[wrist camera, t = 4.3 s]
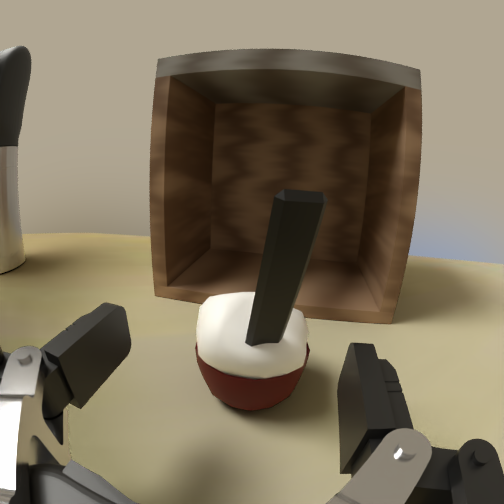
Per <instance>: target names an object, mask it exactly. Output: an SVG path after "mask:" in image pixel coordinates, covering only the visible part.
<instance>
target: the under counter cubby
mask: <svg viewBox="0 0 504 504" xmlns="http://www.w3.org/2000/svg"><path fill="white" fill-rule="evenodd" d="M421 144H422V95H421V76H420V70H419V69H415V68H412V67H408V66H404V65H400V64H396V63H392V62H387V61H382V60H377V59H372V58H367V57H361V56H354V55H348V54H341V53H333V52H322V51H312V50H296V49H239V50H222V51H211V52H201V53H193V54H185V55H179V56H172V57H167V58H162V59H158V63H157V71H156V79H155V89H154V99H153V112H152V126H151V146H150V231H151V252H152V267H153V280H154V291H155V296H160V297H166V298H171V299H177V300H183V301H189V302H195V303H201V304H203V303H204V302H205V301H206V300H207V299H208V298H209V297H210V296H216V295H221V294H229V293H238V292H255V291H256V286H257V281H258V276H259V271H260V266H261V261H262V256H263V251H264V246H265V241H266V236H267V230H268V225H269V220H270V215H271V210H272V205H273V199H274V196H275V195H277V194H278V193H279V192H281V191H282V190H283V189H291V190H304V191H316V192H323V193H324V195H325V196H326V198H327V199H328V202H327V205H326V209H325V212H324V215H323V219H322V222H321V225H320V229H319V232H318V235H317V238H316V242H315V245H314V248H313V251H312V254H311V257H310V260H309V264H308V267H307V270H306V273H305V276H304V279H303V282H302V285H301V288H300V290H299V293H298V296H297V299H296V302H295V305H294V308H295V309H297V310H299V311H301V312H302V313H303V315H304V317H307V318H317V319H328V320H340V321H352V322H366V323H382V324H391V322H392V319H393V315H394V312H395V308H396V305H397V301H398V297H399V293H400V289H401V285H402V281H403V277H404V272H405V268H406V263H407V258H408V253H409V248H410V243H411V237H412V231H413V225H414V219H415V212H416V204H417V196H418V186H419V176H420V163H421Z"/></svg>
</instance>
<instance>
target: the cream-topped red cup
mask: <svg viewBox="0 0 504 504" xmlns="http://www.w3.org/2000/svg"><path fill="white" fill-rule="evenodd" d="M327 202H328V199H327V198H326V196H325V195H324V193H323V192H316V191H304V190H291V189H283V190H282V191H281V192H279V193H278V194H277V195H275V196H274V199H273V205H272V210H271V215H270V220H269V225H268V230H267V236H266V241H265V246H264V251H263V256H262V261H261V266H260V271H259V276H258V281H257V286H256V291H255V292H238V293H229V294H221V295H216V296H210V297H209V298H208V299H207V300H206V301H205V302H204V303H203V304H202V305H201V306H200V308H199V315H198V321H197V328H196V336H197V343H196V347H195V349H196V357H197V363H198V365H199V368H200V371H201V373H202V375H203V377H204V380H205V382H206V383H207V385H208V387H209V389H210V391H211V393H212V395H214V396H215V397H217V398H218V399H220V400H222V401H223V402H225V403H226V404H228V405H229V406H231V407H234V408H239V409H244V410H250V411H252V410H259V409H265V408H270V407H272V406H274V405H276V404H278V403H279V402H281V401H282V400H284V399H286V398H287V397H289V396H290V394H291V393H292V391H293V390H294V388H295V386H296V384H297V383H298V381H299V379H300V377H301V374H302V372H303V370H304V368H305V366H306V363H307V360H308V356H309V352H310V349H309V346H308V343H307V339H308V335H309V331H308V327H307V323H306V320H305V317H304V315H303V313H302V312H301V311H299V310H297V309H295V308H294V305H295V302H296V299H297V296H298V293H299V290H300V288H301V285H302V282H303V279H304V276H305V273H306V270H307V267H308V264H309V260H310V257H311V254H312V251H313V248H314V245H315V242H316V238H317V235H318V232H319V229H320V225H321V222H322V219H323V215H324V212H325V209H326V205H327Z"/></svg>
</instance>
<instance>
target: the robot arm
mask: <svg viewBox="0 0 504 504" xmlns="http://www.w3.org/2000/svg"><path fill="white" fill-rule="evenodd" d="M30 74H31V56H30V53H29V51H28V49H27V48H26V47H24V46H16V47H12V48H9V49H6V50H3V51H0V273H3V272H6V271H9V270H12V269H14V268H16V267H18V266H19V265H21V264H22V263H23V262H24V261H25V252H24V246H23V239H22V231H21V222H20V212H19V199H18V170H17V162H18V138H19V134H20V130H21V126H22V118H23V111H24V105H25V100H26V94H27V90H28V85H29V80H30ZM130 349H131V338H130V333H129V327H128V322H127V316H126V311H125V309H124V308H123V307H122V306H118V305H114V304H110V303H103V304H101V305H100V306H99V307H97V308H96V309H95V310H94V311H92V312H91V313H89V314H86V315H84V316H82V317H80V318H79V319H78V320H76V321H75V322H74V323H73V325H70V326H69V327H67V328H66V330H63V331H62V332H61V333H60V334H58V335H57V336H56V337H54V338H53V339H52V340H51V341H49V342H48V343H47V344H46V345H44V346H43V347H42V348H41V349H38V348H36V347H34V346H24V347H21V348H18V349H17V350H15V351H14V352H12V354H10V353H6V352H2V349H1V347H0V504H139V503H135V502H133V501H132V500H130V499H129V498H127V497H126V496H125V495H123V494H122V493H121V492H120V491H118V490H117V489H116V488H115V487H113V486H112V485H111V484H110V483H108V482H107V481H106V480H105V479H104V478H102V477H101V476H99V475H97V474H95V473H94V472H92V471H90V470H88V469H86V468H85V467H83V466H81V465H80V464H78V463H76V462H75V461H73V460H72V458H71V455H70V449H69V426H68V410H67V408H66V406H67V405H68V404H69V403H70V404H72V405H74V406H76V407H78V408H80V409H81V408H82V407H83V406H84V405H85V404H86V403H87V401H88V400H89V399H90V398H91V397H92V396H93V394H94V393H95V392H96V391H97V390H98V389H99V388H100V386H101V385H102V384H103V383H104V382H105V381H106V379H107V378H108V377H109V376H110V375H111V374H112V373H113V371H114V370H115V369H116V368H117V367H118V366H119V365H120V364H121V362H122V361H123V360H124V359H125V358H126V357H127V356H128V354H129V352H130ZM337 398H338V414H339V437H340V474H351V478H352V479H351V480H350V481H349V482H348V483H347V484H346V485H345V486H344V487H343V489H342V490H341V491H340V492H339V493H337V494H336V495H335V496H334V497H333V498H331V499H330V500H329V501H328V502H327V503H326V504H504V474H503V470H502V467H501V464H500V460H499V457H498V454H497V452H496V450H495V448H494V447H493V446H492V445H491V444H490V443H489V442H487V441H485V440H482V439H472V440H469V441H467V442H466V443H465V444H464V445H463V446H462V447H461V448H460V449H459V450H450V449H442V448H436V447H432V446H431V444H430V442H429V440H428V439H427V438H426V437H425V436H424V435H423V434H422V433H420V432H418V431H416V430H414V428H413V425H412V421H411V418H410V414H409V411H408V407H407V404H406V401H405V398H404V394H403V393H402V388H401V385H400V383H399V379H398V376H397V373H396V370H395V369H394V367H393V366H392V365H391V364H390V363H389V362H388V361H387V360H386V359H378V357H377V353H376V350H375V347H374V345H373V344H366V343H350V345H349V348H348V351H347V355H346V358H345V361H344V365H343V368H342V371H341V374H340V378H339V382H338V389H337Z"/></svg>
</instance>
